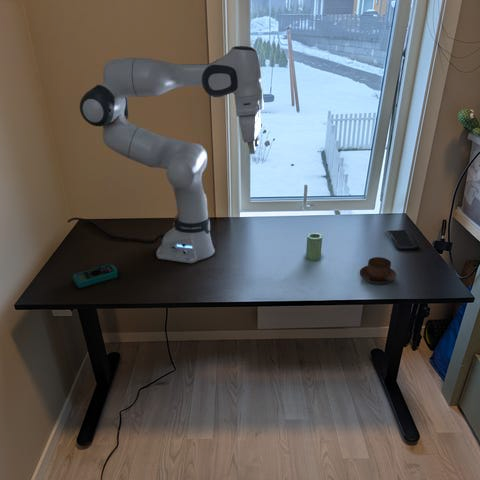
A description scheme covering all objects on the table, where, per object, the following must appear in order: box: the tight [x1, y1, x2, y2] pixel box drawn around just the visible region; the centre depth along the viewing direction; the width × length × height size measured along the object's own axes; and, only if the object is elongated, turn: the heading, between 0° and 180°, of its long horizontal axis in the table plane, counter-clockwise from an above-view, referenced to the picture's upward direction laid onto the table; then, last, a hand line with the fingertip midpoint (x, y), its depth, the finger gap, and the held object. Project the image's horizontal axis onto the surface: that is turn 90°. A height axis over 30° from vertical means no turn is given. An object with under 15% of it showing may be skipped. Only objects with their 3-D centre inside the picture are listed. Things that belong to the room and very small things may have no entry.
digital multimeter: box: [72, 263, 119, 289], centre depth 163 cm, size 7×15×3 cm, turn 122°
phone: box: [386, 229, 418, 251], centre depth 180 cm, size 8×1×15 cm
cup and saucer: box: [359, 256, 397, 285], centre depth 156 cm, size 12×12×6 cm
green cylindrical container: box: [305, 232, 323, 261], centre depth 170 cm, size 5×5×8 cm
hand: (254, 149), depth 153 cm, fingers open, 8 cm apart
